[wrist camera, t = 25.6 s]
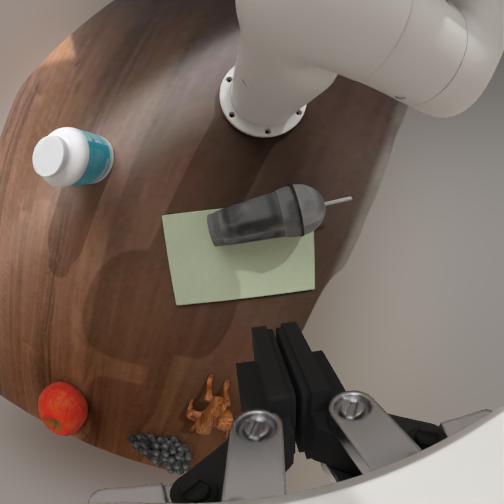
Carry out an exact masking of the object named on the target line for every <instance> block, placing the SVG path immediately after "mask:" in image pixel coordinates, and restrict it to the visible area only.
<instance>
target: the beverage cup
mask: <svg viewBox="0 0 504 504" xmlns="http://www.w3.org/2000/svg"><path fill="white" fill-rule="evenodd" d="M349 200H352V197H346V198H341V199H337V200H332V201H327V202H324V200H323V198H322V196H321V195H320V193H319V192H318V191H316V190H315V189H314V188H312V187H310V186H306V185H302V184H294V185H291V184H288V186H286V187H282V188H280V189H278V190H275V192H272V193H269V194H266V195H263V196H259V197H256V198H253V199H250V200H247V201H244V202H241V203H238V204H235V205H232V206H229V207H227V208H224V209H221V210H218V211H216V212H214V213H212V214H208V215H207V224H208V229H209V234H210V237H211V240H212V242H213V244H214V246H215V247H217V246H224V245H234V244H241V243H247V242H254V241H260V240H267V239H274V238H281V237H286V238H287V237H298V236H300V237H302V236H304V235H306V234H309V233H311V232H313V231H314V230H315V229H317V228H318V227H319V226H320V224H321V223H322V221H323V220H324V217H325V211H326V208H325V206H327V205H331V204H336V203H340V202H345V201H349Z"/></svg>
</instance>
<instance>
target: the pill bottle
mask: <svg viewBox="0 0 504 504" xmlns="http://www.w3.org/2000/svg"><path fill="white" fill-rule="evenodd" d="M113 161H114V152H113V148H112V146H111V144H110V143H109V141H108V140H107V139H105V138H104V137H102V136H99V135H96V134H92V133H89V132H85V131H82V130H79V129H75V128H71V127H63V128H59V129H57V130H55V131H53V132H52V133H51V134H49V135H48V136H46V137H44V138H42V139H41V140H40V141H39V142H38V144H37V145H36V147H35V149H34V153H33V166H34V169H35V171H36V172H37V173H38V174H39V175H40V176H42V177H43V179H44V180H45V181H46V182H47V183H48V184H50V185H52V186H54V187H69V186H77V185H87V184H94V183H97V182H100V181H101V180H103V179H104V178H105V177H106V176H107V175H108V174H109V172H110V170H111V168H112V165H113Z"/></svg>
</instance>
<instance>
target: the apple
mask: <svg viewBox="0 0 504 504" xmlns="http://www.w3.org/2000/svg"><path fill="white" fill-rule="evenodd" d="M38 410H39V414H40V418H41V420H42V421H43V422H44V424H45V425H46V426H47V427H48V428H49V429H50V430H52V431H53V432H55V433H56V434H59V435H62V436H68V435H71V434H73V433H75V432H76V431H77V430H78V429H79V428H80V427H81V426H82V425H83V423H84V422H85V420H86V418H87V414H88V403H87V401H86V399H85V397H84V396H83V394H82V393H81V392H80V391H79V390H78V389H77V388H76V387H74V386H73V385H71V384H69V383H67V382H62V381H58V382H54V383H52V384H50V385H48V386H47V387H46V388H45V389H44V390H43V392H42V393H41V395H40V397H39V401H38Z"/></svg>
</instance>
